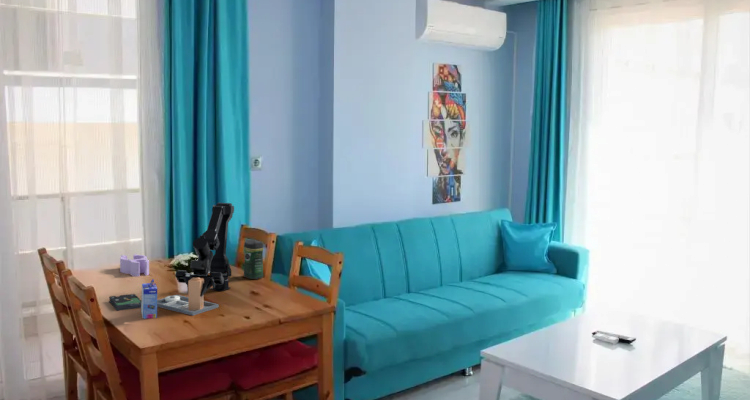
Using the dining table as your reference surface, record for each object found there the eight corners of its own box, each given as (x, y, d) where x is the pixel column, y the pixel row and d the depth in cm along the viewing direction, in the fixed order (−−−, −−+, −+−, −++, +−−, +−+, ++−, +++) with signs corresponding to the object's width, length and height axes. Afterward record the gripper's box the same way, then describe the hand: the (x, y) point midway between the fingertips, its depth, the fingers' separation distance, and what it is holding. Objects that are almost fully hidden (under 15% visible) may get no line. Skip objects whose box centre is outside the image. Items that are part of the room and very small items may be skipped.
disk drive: (108, 303, 268) (116, 311, 255) (108, 296, 267) (116, 305, 255) (134, 299, 273) (143, 308, 261) (134, 293, 273) (143, 301, 261)
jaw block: (192, 306, 261) (192, 276, 260) (203, 307, 261) (203, 277, 259) (188, 310, 257) (188, 279, 255) (199, 310, 256) (199, 279, 255)
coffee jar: (265, 278, 315) (266, 240, 313) (252, 280, 310) (252, 242, 308) (254, 274, 322) (255, 237, 320) (241, 276, 317) (241, 239, 315)
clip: (155, 274, 315) (155, 260, 315) (129, 277, 308) (129, 263, 307) (141, 266, 331) (141, 253, 330) (116, 269, 323) (116, 255, 322)
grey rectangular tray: (150, 306, 262) (150, 299, 262) (176, 299, 274) (176, 292, 274) (192, 317, 250) (192, 310, 250) (218, 309, 262) (218, 302, 262)
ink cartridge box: (158, 319, 246) (157, 282, 244) (142, 321, 244) (142, 283, 242) (155, 312, 255) (155, 276, 253) (140, 313, 253) (140, 277, 251)
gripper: (176, 250, 260) (166, 284, 251) (222, 252, 259) (213, 286, 250) (183, 265, 269) (173, 298, 260) (227, 267, 268) (219, 300, 259)
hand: (194, 295), depth 257 cm, fingers closed on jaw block, 5 cm apart
